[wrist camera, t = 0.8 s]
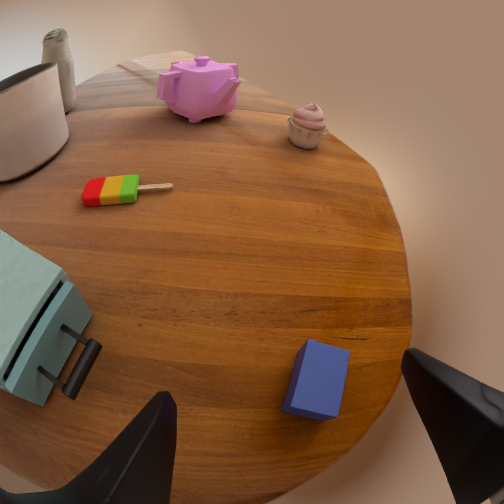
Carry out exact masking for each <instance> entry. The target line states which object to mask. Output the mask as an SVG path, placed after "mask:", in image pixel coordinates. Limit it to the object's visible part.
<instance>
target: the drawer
mask: <svg viewBox="0 0 504 504" xmlns="http://www.w3.org/2000/svg"><path fill="white" fill-rule="evenodd" d="M92 315H93V313H92V311H91V310H90V308H89V307H88V305H87V304H86V303H85V301H84V300H83V298H82V297H81V295H80V294H79V292H78V291H77V289H76V288H75V286H74V285H73V284H71V283H70V282H68V281H65V283H64V284H63V286H62V287H61V288H60V290H59V289H58V288H57V287H55V289H54V290H53V292H52V293H51V295H50V296H49V297H48V299H47V300H46V302H45V304H44V305H43V307H42V308H41V310H40V311H39V313H38V314H37V316H36V318H35V319H34V321H33V323H32V324H31V326H30V327H29V329H28V331H27V333H26V334H25V336H24V338H23V340H22V341H21V343H20V345H19V347H18V348H17V350H16V352H15V354H14V356H13V358H12V360H11V362H10V364H9V366H8V368H7V370H6V372H5V374H6V375H7V376H9V377H8V379H7V381H6V383H5V387H6V388H7V389H8V390H9V391H10V392H11V393H12V394H14V395H16V396H18V397H21V398H23V399H25V400H28V401H30V402H32V403H35V404H37V405H40V406H42V407H43V406H44V404H45V402H46V399H47V397H48V395H49V393H50V391H51V389H52V387H53V385H54V384H55V385H56V386H58V387H59V388H60V389H62V393H63V394H65V395H66V396H67V397H69V398H71V399H72V400H75V399H76V397H77V395H78V393H79V391H80V389H81V387H82V385H83V383H84V381H85V379H86V377H87V375H88V373H89V371H90V369H91V368H92V366H93V364H94V362H95V360H96V358H97V356H98V354H99V353H100V351H101V349H102V345H101V344H100V343H98V342H97V341H95V340H94V339H92V338H90V339H89V340H88V339H87V338H85V337H84V336H82V335H81V333H82V332H83V330H84V328H85V327H86V325H87V323H88V322H89V320H90V318H91V317H92ZM77 340H78V341H79V342H81V343H82V344H84V345H86V346H85V348H84V350H83V352H82V353H81V355H80V357H79V359H78V361H77V363H76V364H75V366H74V368H73V370H72V372H71V374H70V376H69V378H68V380H67V382H66V384H64V383H63V382H61V381H60V380H59V379H57V377H58V375H59V373H60V371H61V369H62V368H63V366H64V364H65V362H66V360H67V358H68V356H69V355H70V353H71V351H72V349H73V347H74V346H75V344H76V342H77Z"/></svg>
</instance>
